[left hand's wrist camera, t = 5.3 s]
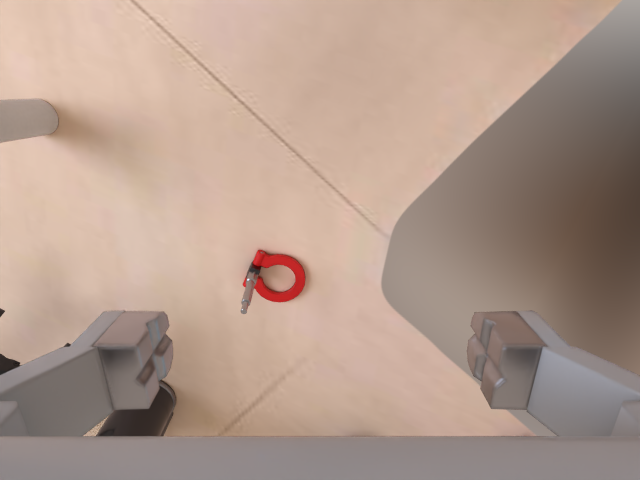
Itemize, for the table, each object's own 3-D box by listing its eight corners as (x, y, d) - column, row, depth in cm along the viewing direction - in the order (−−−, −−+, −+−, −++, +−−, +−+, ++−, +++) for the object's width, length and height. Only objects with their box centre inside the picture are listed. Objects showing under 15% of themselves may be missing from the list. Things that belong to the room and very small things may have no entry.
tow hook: (313, 264, 63) (260, 243, 61) (316, 309, 51) (249, 283, 49) (292, 305, 66) (240, 286, 64) (290, 356, 54) (226, 334, 52)
